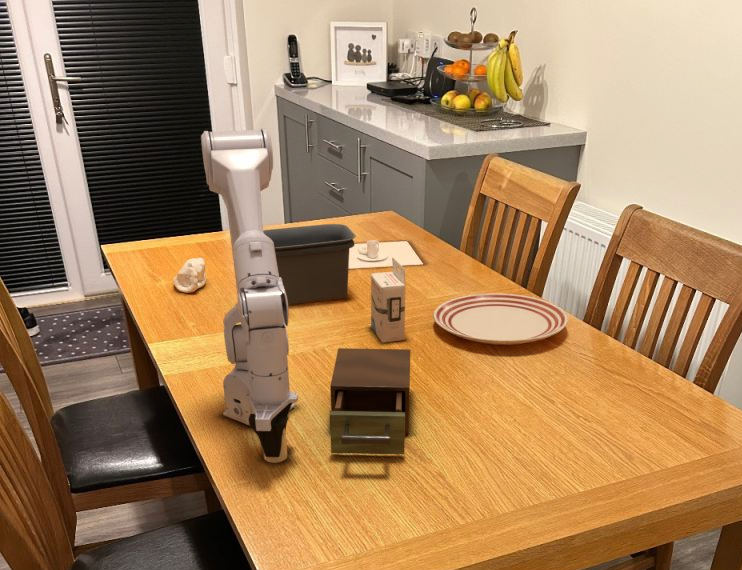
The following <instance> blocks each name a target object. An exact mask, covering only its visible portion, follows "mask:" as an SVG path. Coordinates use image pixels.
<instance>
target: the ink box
mask: <svg viewBox="0 0 742 570" xmlns="http://www.w3.org/2000/svg"><path fill="white" fill-rule="evenodd" d="M392 264H393V266H392V271H385V272H372V273H370V304H371V305H370V328H371V329H372V331H373V332H374V333H375V335H376V336H377V337H378V339H379V340H380V342H381V343H383V344H385V343H393V342H400V341H405V339H406V338H405V336H406V335H405V334H406V333H405V332H406V330H405V329H406V325H405V323H406V268H404V267H403V266H401V265H400V263H399V262H398V261H397V260H395V259H394V257H392Z"/></svg>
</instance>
